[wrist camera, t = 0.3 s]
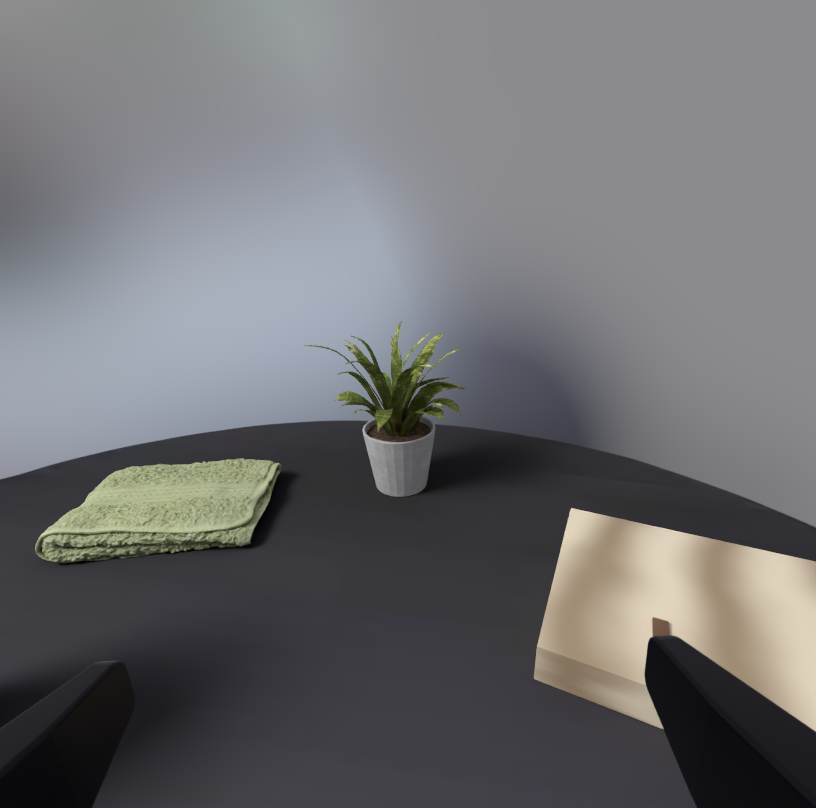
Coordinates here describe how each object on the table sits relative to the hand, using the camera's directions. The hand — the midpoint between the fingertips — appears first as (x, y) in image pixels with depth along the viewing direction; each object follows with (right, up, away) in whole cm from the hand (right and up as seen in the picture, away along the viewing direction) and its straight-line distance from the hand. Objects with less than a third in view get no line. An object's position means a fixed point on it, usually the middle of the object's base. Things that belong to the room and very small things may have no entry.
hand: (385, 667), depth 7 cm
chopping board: (+19, -10, +19) cm, 29 cm away
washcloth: (-21, -6, +34) cm, 40 cm away
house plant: (-1, -4, +36) cm, 37 cm away
